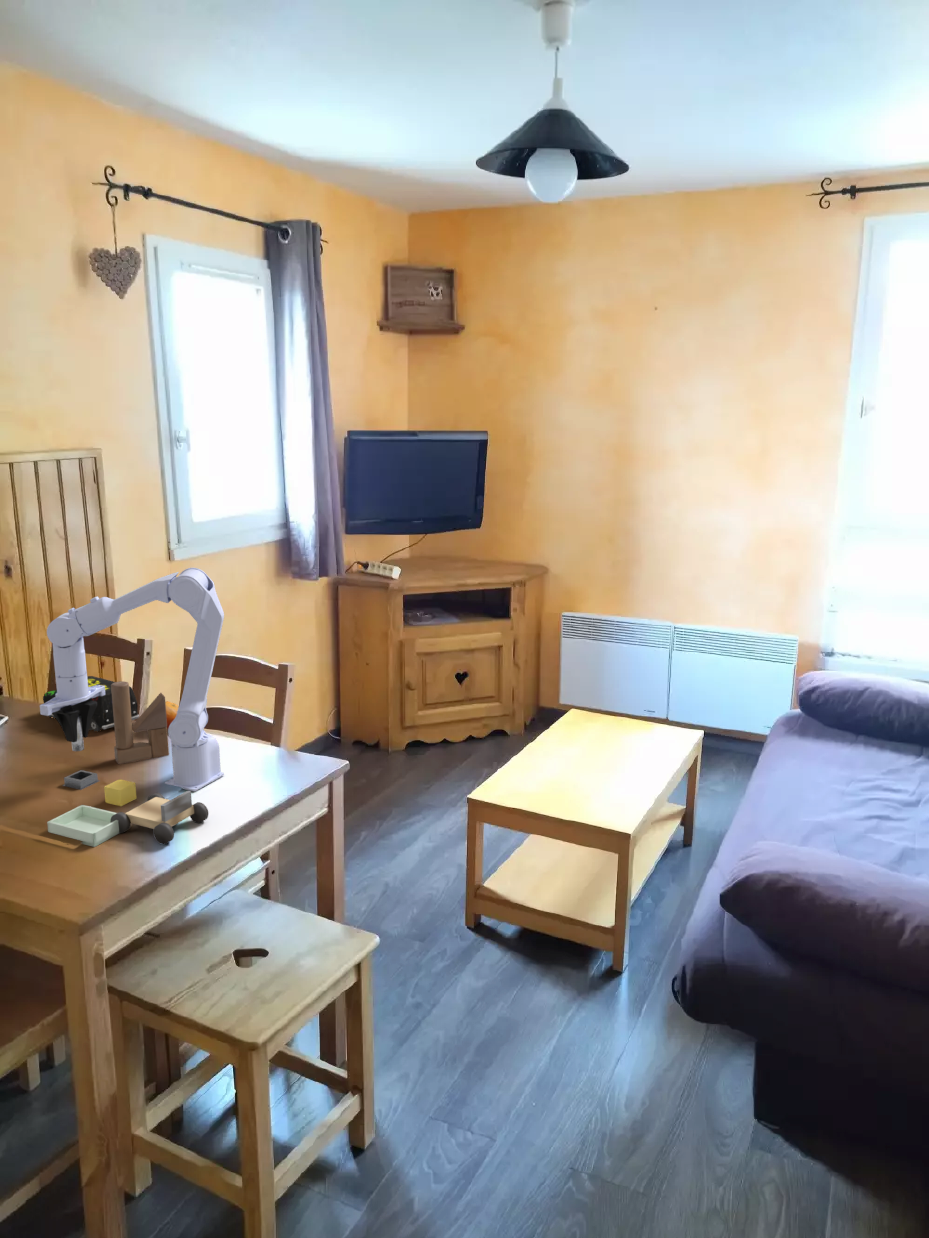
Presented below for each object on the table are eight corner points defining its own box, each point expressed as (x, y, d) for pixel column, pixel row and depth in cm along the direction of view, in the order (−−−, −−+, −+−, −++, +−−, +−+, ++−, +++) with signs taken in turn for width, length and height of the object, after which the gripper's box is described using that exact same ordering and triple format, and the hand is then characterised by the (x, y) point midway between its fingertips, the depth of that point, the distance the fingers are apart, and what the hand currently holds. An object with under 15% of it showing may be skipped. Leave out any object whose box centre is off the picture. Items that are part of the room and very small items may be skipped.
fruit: (142, 720, 215) (158, 692, 214) (172, 734, 218) (188, 706, 217) (141, 732, 207) (157, 702, 207) (172, 745, 210) (189, 716, 210)
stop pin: (78, 746, 180) (75, 714, 179) (86, 748, 180) (83, 715, 178) (69, 750, 178) (66, 717, 177) (78, 752, 178) (74, 718, 176)
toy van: (80, 705, 231) (76, 668, 228) (141, 723, 218) (138, 684, 215) (41, 716, 222) (38, 678, 220) (103, 736, 209) (100, 695, 207)
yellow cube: (121, 797, 176) (119, 779, 175) (136, 801, 174) (135, 782, 173) (105, 805, 172) (104, 786, 171) (121, 809, 170) (119, 790, 170)
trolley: (152, 808, 171) (149, 777, 169) (208, 822, 165) (207, 790, 164) (111, 831, 161) (108, 798, 160) (170, 846, 156) (167, 812, 155)
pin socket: (82, 779, 184) (81, 769, 183) (100, 783, 182) (99, 773, 182) (62, 788, 180) (61, 777, 179) (81, 792, 178) (80, 782, 177)
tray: (83, 816, 167) (82, 804, 166) (128, 828, 163) (127, 815, 162) (48, 834, 160) (47, 821, 159) (94, 846, 156) (93, 833, 155)
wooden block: (169, 757, 196) (164, 679, 192) (118, 767, 190) (111, 687, 186) (165, 752, 199) (160, 675, 195) (115, 761, 193) (108, 682, 189)
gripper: (84, 662, 183) (90, 724, 187) (25, 681, 171) (32, 747, 174) (110, 666, 181) (116, 729, 184) (52, 685, 168) (59, 753, 171)
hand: (77, 738), depth 178 cm, fingers closed on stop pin, 2 cm apart
